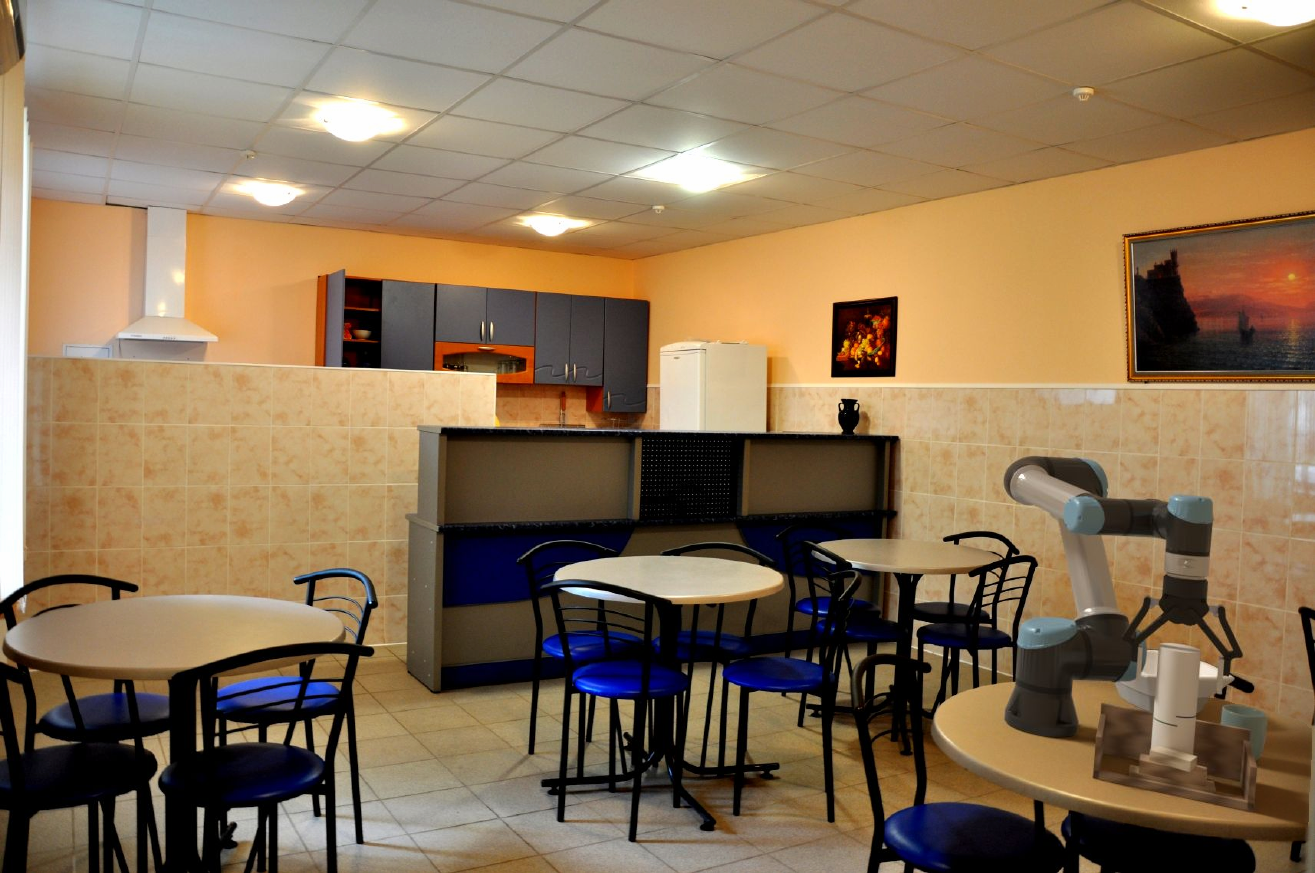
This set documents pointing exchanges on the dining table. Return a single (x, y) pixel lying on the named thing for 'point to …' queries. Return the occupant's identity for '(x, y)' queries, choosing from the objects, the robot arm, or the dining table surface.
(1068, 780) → the dining table surface
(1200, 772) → the offcut middle
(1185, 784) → the offcut bottom
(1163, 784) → the rack
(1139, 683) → the bowl
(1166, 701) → the cylindrical container
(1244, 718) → the cup
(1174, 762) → the offcut top
